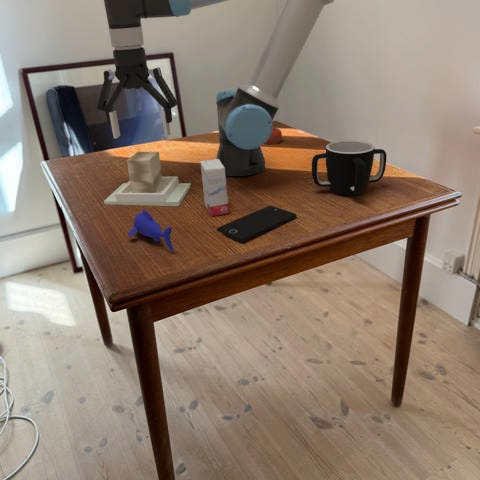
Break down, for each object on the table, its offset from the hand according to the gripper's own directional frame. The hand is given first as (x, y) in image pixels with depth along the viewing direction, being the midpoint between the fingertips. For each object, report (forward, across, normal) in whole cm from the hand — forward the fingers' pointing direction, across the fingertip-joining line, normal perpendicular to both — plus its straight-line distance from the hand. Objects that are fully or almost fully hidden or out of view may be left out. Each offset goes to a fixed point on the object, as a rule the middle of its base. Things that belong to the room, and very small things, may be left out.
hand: (142, 136), depth 122 cm
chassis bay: (+17, 0, 0) cm, 17 cm away
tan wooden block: (+15, +1, 0) cm, 15 cm away
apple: (+17, -28, -49) cm, 59 cm away
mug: (+18, -52, -6) cm, 56 cm away
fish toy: (+17, -9, +26) cm, 33 cm away
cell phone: (+18, -31, +16) cm, 39 cm away
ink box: (+17, -20, +8) cm, 27 cm away
